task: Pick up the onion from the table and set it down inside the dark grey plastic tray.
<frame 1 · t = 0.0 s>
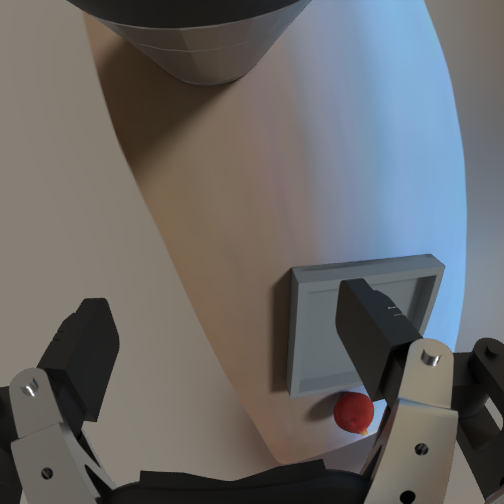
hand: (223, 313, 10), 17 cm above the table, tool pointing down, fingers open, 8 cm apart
onion: (345, 392, 40), on the table
tray: (358, 323, 34), on the table
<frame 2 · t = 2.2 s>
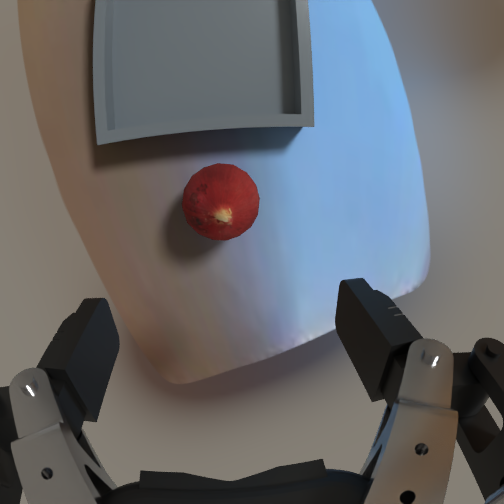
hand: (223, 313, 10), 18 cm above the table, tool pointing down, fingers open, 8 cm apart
onion: (220, 190, 26), on the table
tray: (200, 37, 20), on the table
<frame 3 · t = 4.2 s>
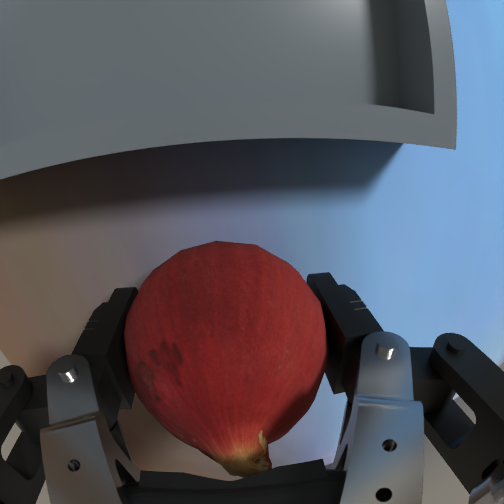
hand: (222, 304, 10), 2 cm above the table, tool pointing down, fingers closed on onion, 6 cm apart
onion: (222, 279, 12), on the table, touching gripper
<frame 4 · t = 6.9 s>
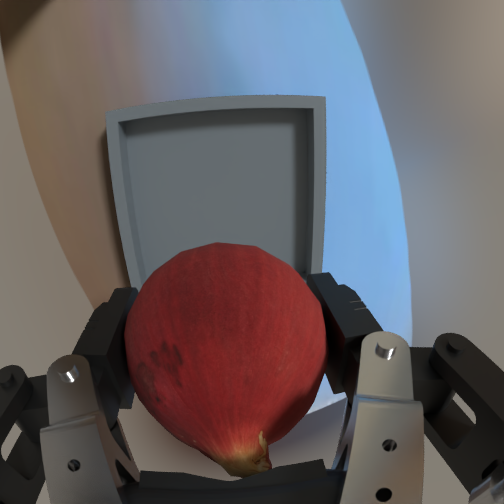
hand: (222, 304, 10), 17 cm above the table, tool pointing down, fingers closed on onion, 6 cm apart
onion: (222, 279, 12), point 15 cm above the table, touching gripper
tray: (220, 197, 26), on the table
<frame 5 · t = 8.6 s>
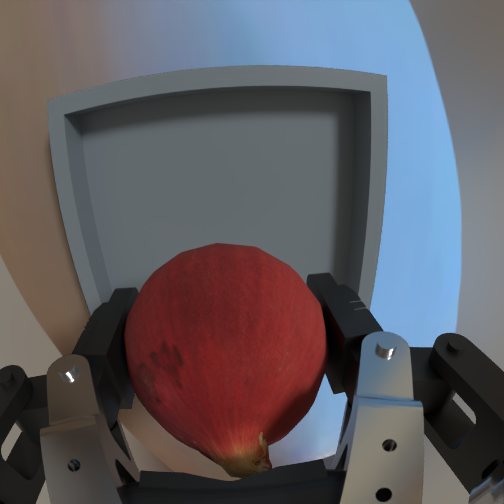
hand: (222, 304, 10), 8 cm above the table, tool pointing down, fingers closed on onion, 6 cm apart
onion: (222, 280, 12), point 6 cm above the table, touching gripper
tray: (224, 223, 18), on the table
when the fingers open (4 cm above the table, at t = 9.9 s): onion drops 2 cm, resting on tray.
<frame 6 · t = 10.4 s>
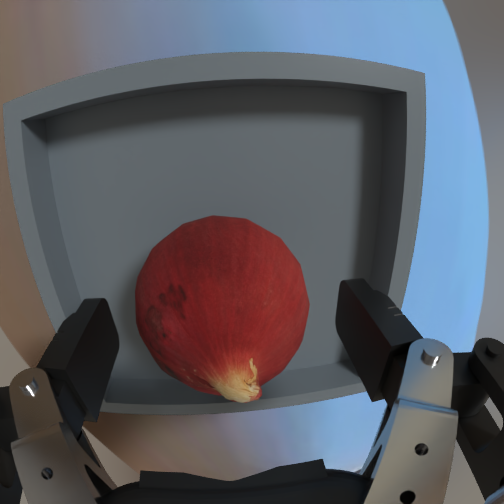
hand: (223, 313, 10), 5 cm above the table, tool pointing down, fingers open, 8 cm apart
onion: (217, 258, 14), point 1 cm above the table, touching tray
tray: (220, 251, 15), on the table
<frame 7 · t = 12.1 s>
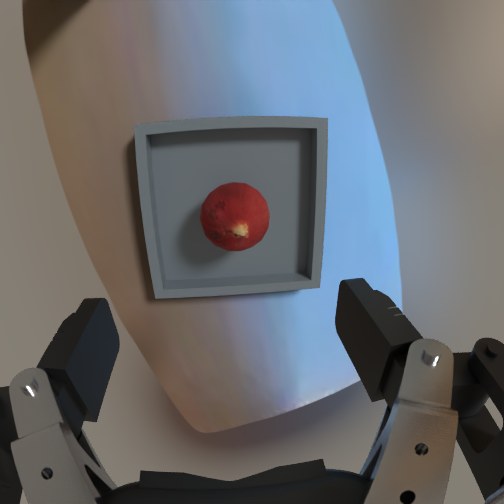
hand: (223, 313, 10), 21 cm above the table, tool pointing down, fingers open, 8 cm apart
onion: (232, 205, 29), point 1 cm above the table, touching tray
tray: (233, 204, 30), on the table
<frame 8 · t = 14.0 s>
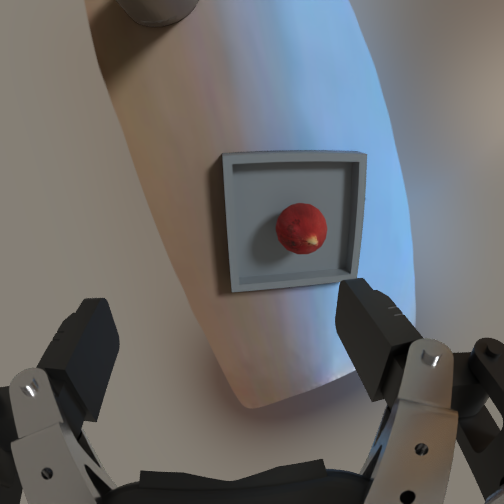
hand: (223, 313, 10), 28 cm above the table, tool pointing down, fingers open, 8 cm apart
onion: (293, 218, 38), point 1 cm above the table, touching tray
tray: (293, 216, 39), on the table
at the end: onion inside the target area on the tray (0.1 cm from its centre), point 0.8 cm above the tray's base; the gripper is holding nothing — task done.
